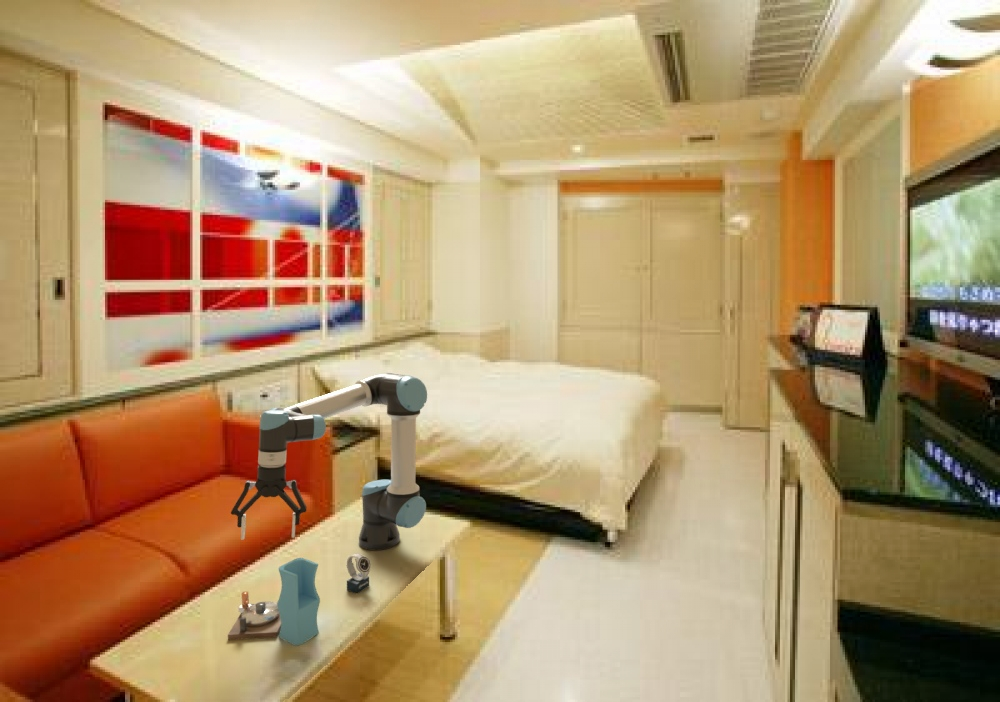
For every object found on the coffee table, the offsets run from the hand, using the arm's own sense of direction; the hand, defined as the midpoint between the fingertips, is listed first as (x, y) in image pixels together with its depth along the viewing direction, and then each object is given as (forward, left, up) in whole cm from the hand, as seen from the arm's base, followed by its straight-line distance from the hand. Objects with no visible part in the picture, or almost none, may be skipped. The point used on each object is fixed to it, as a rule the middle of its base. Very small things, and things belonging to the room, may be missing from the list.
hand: (268, 536), depth 165 cm
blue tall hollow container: (+11, +11, -24) cm, 28 cm away
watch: (-12, +23, -24) cm, 36 cm away
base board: (+4, -2, -24) cm, 24 cm away
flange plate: (+4, -3, -22) cm, 22 cm away
